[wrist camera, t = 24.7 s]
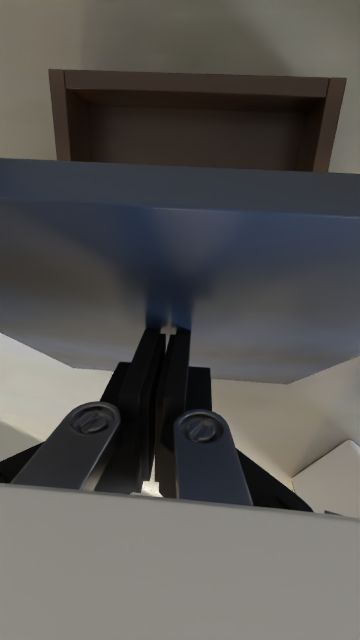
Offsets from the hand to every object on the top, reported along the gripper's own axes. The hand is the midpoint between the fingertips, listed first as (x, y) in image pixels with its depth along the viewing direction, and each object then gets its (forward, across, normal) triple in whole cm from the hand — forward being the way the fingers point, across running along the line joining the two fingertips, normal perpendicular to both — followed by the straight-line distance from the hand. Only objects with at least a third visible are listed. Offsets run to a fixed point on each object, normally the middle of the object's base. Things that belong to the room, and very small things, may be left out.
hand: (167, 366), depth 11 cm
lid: (+2, 0, -1) cm, 2 cm away
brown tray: (+13, 0, -3) cm, 13 cm away
